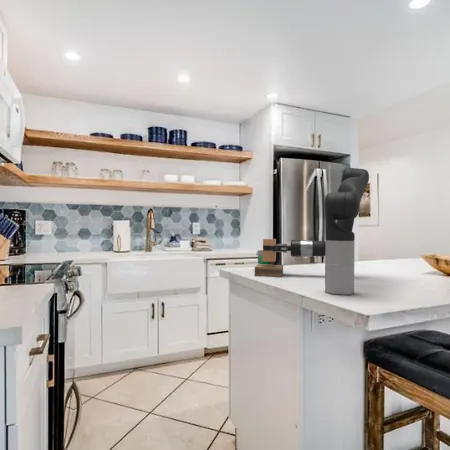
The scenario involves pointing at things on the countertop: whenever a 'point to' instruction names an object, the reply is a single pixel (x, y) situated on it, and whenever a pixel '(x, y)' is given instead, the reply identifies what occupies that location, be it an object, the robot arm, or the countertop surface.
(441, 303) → the countertop surface
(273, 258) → the orange brick
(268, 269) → the walnut base block
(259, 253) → the food container
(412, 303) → the countertop surface
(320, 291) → the countertop surface
